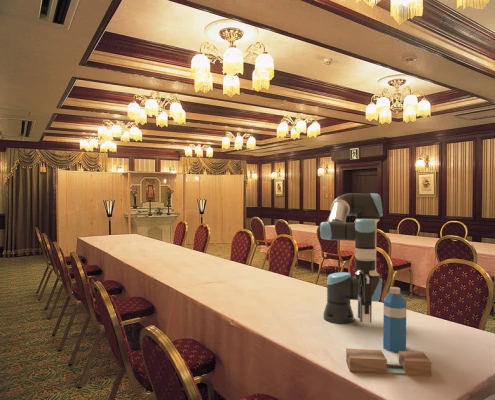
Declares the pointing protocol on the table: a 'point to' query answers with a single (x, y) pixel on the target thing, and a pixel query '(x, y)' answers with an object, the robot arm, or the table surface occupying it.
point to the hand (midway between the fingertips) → (364, 318)
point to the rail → (378, 363)
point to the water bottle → (394, 321)
